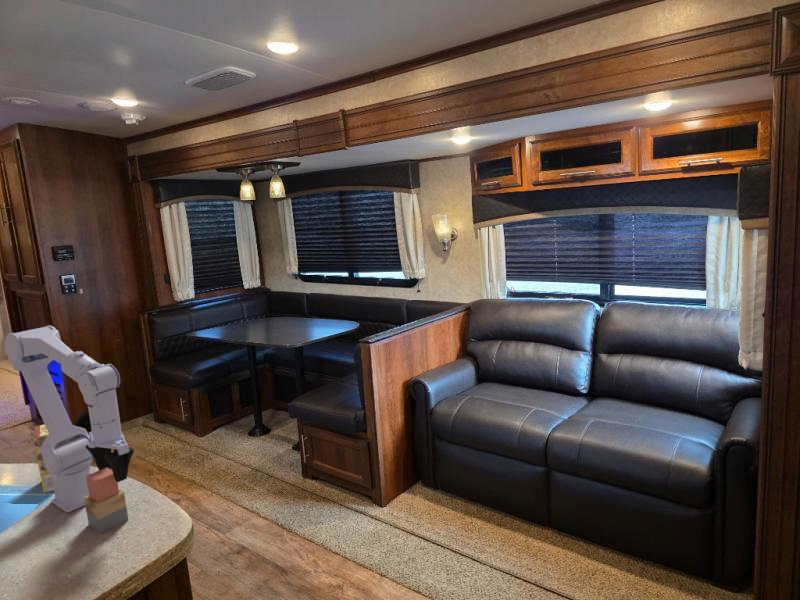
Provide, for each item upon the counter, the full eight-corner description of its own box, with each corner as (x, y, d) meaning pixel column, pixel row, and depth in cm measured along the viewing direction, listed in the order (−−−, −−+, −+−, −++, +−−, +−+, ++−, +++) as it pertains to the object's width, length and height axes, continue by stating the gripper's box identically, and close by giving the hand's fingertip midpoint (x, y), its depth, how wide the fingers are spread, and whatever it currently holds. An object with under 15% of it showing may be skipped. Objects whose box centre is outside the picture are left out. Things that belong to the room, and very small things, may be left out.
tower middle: (86, 511, 117) (83, 497, 117) (112, 498, 122) (110, 485, 122) (98, 519, 114) (96, 505, 113) (126, 506, 119) (124, 492, 118)
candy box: (62, 488, 134) (52, 433, 132) (42, 494, 132) (32, 437, 129) (61, 474, 142) (52, 422, 139) (43, 479, 139) (33, 426, 137)
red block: (89, 496, 117) (85, 475, 116) (109, 487, 121) (106, 467, 120) (98, 502, 114) (94, 481, 113) (119, 493, 118) (116, 472, 117)
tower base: (88, 525, 118) (86, 511, 117) (115, 512, 123) (113, 498, 122) (101, 533, 115) (99, 519, 114) (128, 520, 119) (126, 506, 119)
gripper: (71, 419, 117) (80, 474, 120) (101, 433, 109) (110, 492, 111) (104, 408, 123) (111, 461, 125) (135, 421, 114) (142, 478, 117)
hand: (113, 475), depth 119 cm, fingers open, 7 cm apart
